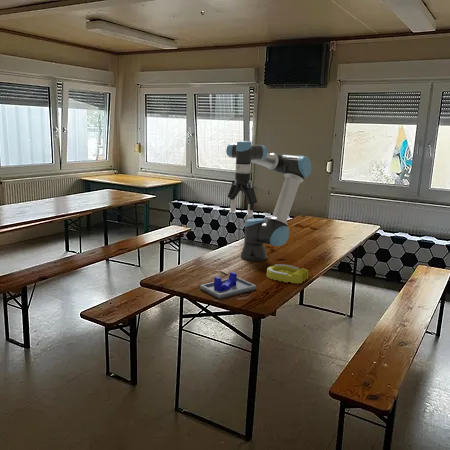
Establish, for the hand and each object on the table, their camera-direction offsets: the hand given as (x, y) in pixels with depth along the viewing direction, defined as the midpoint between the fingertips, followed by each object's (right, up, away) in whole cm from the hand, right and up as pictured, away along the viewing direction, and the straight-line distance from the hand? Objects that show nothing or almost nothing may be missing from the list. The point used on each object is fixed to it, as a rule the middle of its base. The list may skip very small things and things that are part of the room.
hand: (241, 214), depth 232 cm
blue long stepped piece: (-8, -35, -16) cm, 40 cm away
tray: (-7, -36, -16) cm, 40 cm away
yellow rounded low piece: (+23, -33, +4) cm, 41 cm away
